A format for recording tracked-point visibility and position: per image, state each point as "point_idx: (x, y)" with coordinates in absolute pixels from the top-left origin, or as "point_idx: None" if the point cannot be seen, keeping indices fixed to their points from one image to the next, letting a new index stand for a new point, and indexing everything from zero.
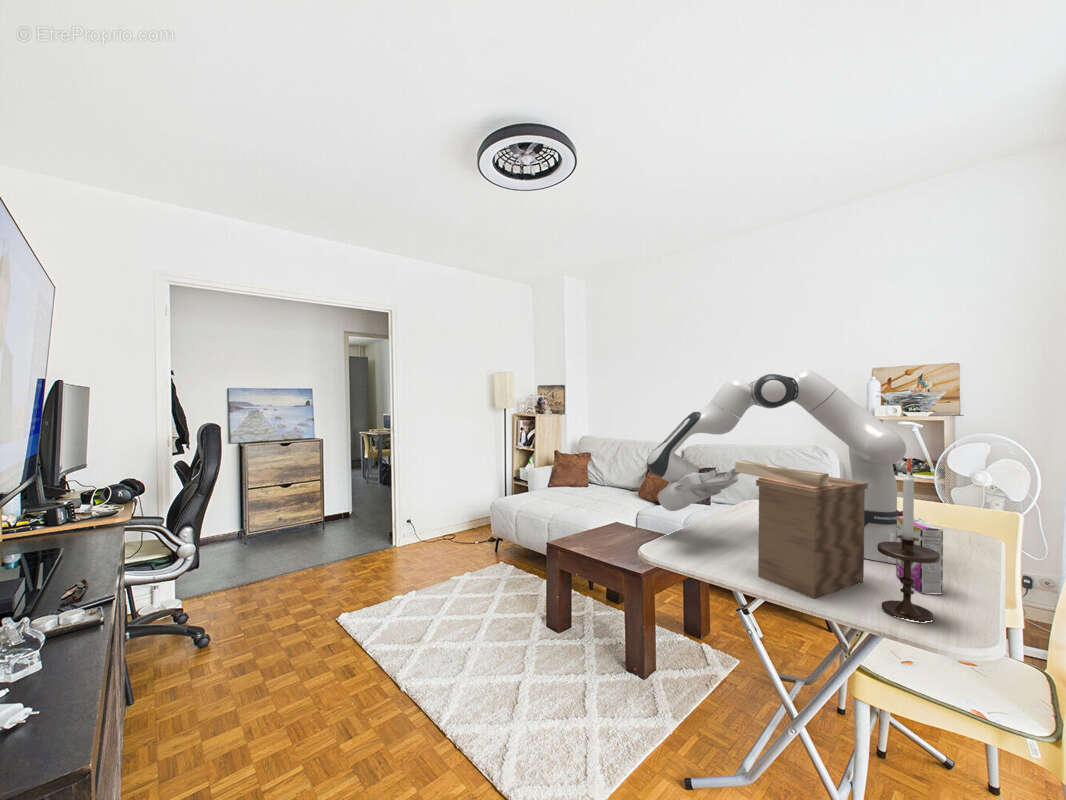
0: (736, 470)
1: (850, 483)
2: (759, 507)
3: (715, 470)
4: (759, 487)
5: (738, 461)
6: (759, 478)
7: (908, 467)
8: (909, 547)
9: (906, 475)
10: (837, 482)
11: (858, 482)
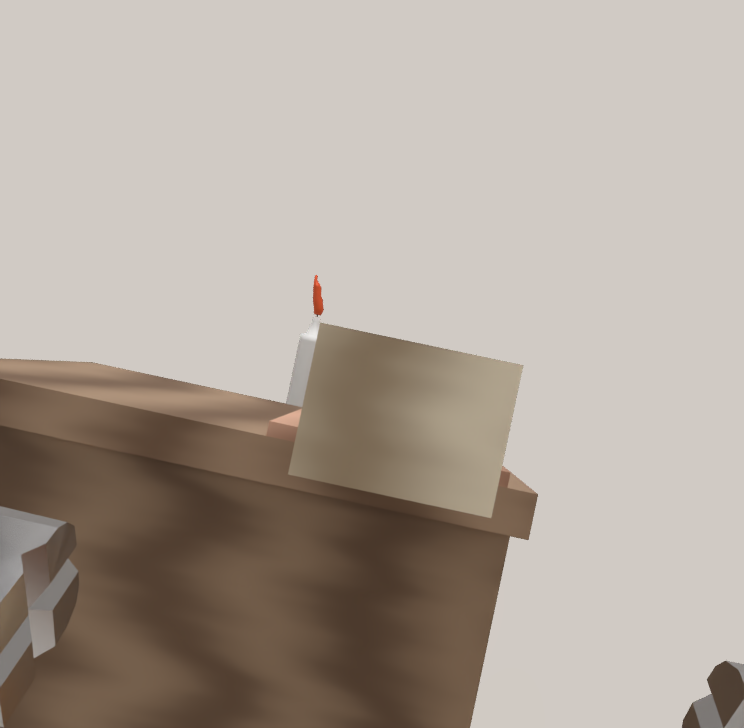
0: (494, 489)
1: (161, 379)
2: (472, 704)
3: (739, 666)
4: (506, 545)
5: (473, 355)
6: (509, 475)
7: (322, 305)
8: None
9: (317, 329)
10: (178, 386)
11: (107, 367)
